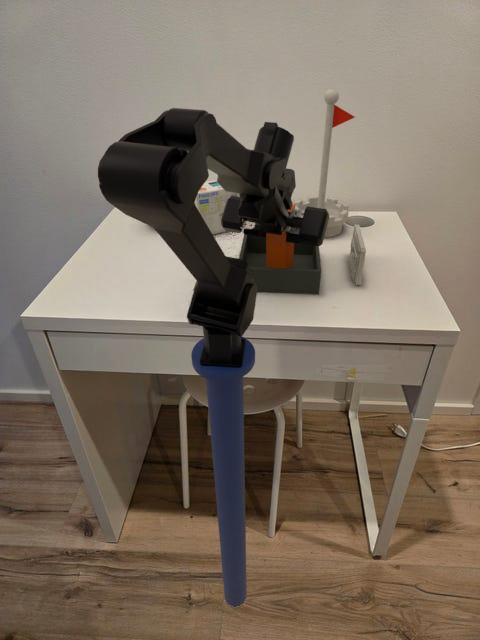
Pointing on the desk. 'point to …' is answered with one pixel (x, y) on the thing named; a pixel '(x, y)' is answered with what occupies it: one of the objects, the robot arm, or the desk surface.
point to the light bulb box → (213, 204)
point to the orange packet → (279, 249)
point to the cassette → (357, 255)
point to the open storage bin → (283, 279)
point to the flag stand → (336, 211)
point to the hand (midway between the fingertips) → (282, 237)
